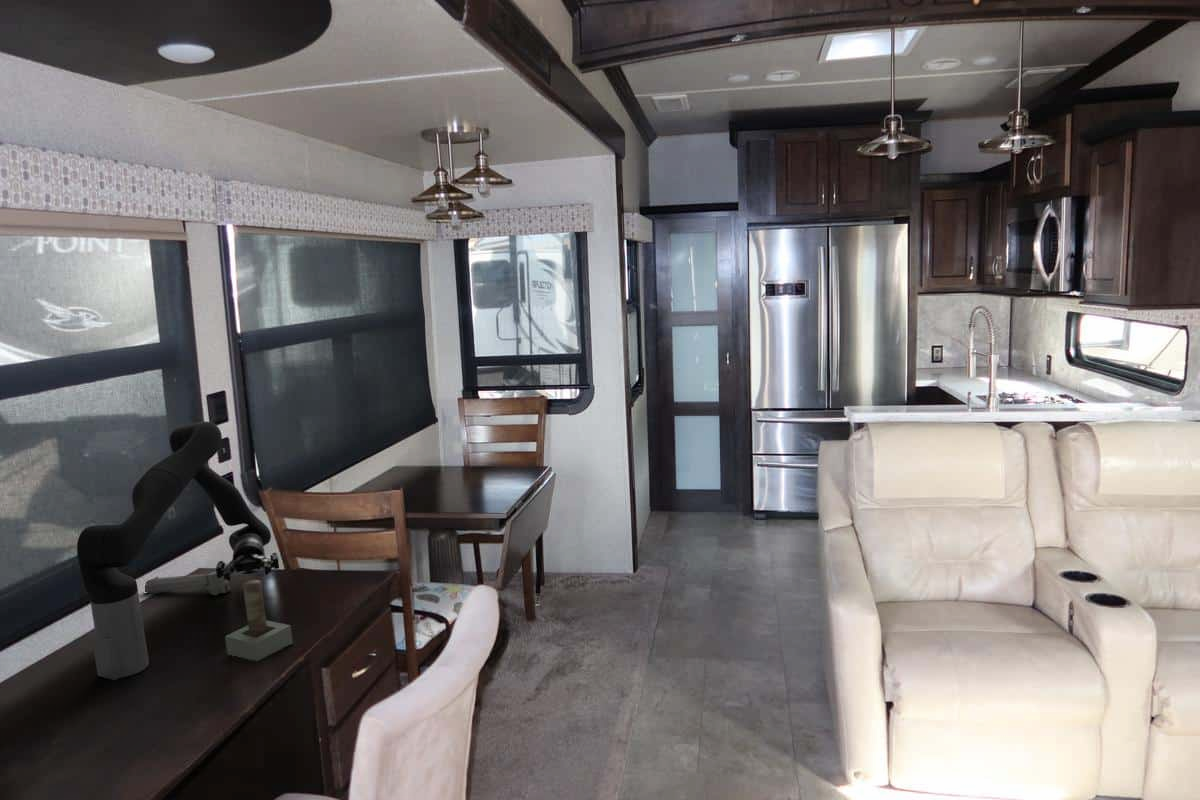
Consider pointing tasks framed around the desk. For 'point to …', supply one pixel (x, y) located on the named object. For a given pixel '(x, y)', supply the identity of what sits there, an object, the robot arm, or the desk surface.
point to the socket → (259, 641)
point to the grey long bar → (188, 583)
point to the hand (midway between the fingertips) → (247, 574)
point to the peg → (255, 608)
